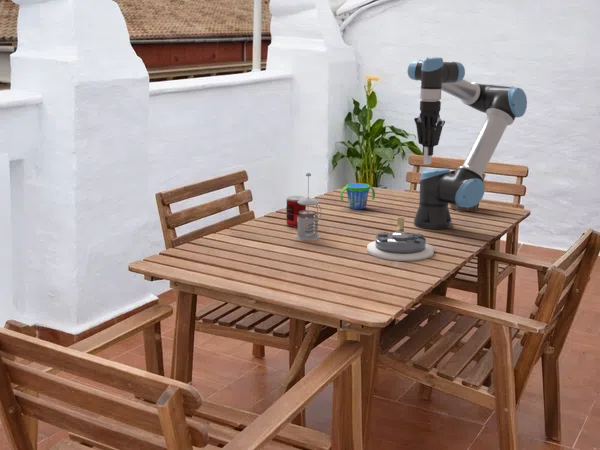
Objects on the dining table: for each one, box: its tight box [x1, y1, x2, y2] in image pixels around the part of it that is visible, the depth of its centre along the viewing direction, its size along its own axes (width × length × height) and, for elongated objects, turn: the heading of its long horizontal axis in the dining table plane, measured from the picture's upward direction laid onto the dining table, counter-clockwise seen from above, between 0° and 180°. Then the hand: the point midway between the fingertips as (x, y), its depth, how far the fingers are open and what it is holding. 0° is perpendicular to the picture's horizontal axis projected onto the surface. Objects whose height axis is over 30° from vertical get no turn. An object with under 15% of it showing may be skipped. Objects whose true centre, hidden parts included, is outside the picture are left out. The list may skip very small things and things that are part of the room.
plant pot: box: [450, 169, 487, 212], centre depth 373 cm, size 16×16×16 cm
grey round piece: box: [375, 215, 427, 254], centre depth 304 cm, size 18×18×9 cm
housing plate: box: [366, 240, 435, 262], centre depth 306 cm, size 24×24×2 cm
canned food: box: [286, 195, 307, 227], centre depth 342 cm, size 8×8×11 cm
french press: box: [294, 172, 322, 241], centre depth 322 cm, size 10×12×25 cm
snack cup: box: [339, 182, 376, 210], centre depth 373 cm, size 16×10×10 cm
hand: (427, 163), depth 315 cm, fingers closed
